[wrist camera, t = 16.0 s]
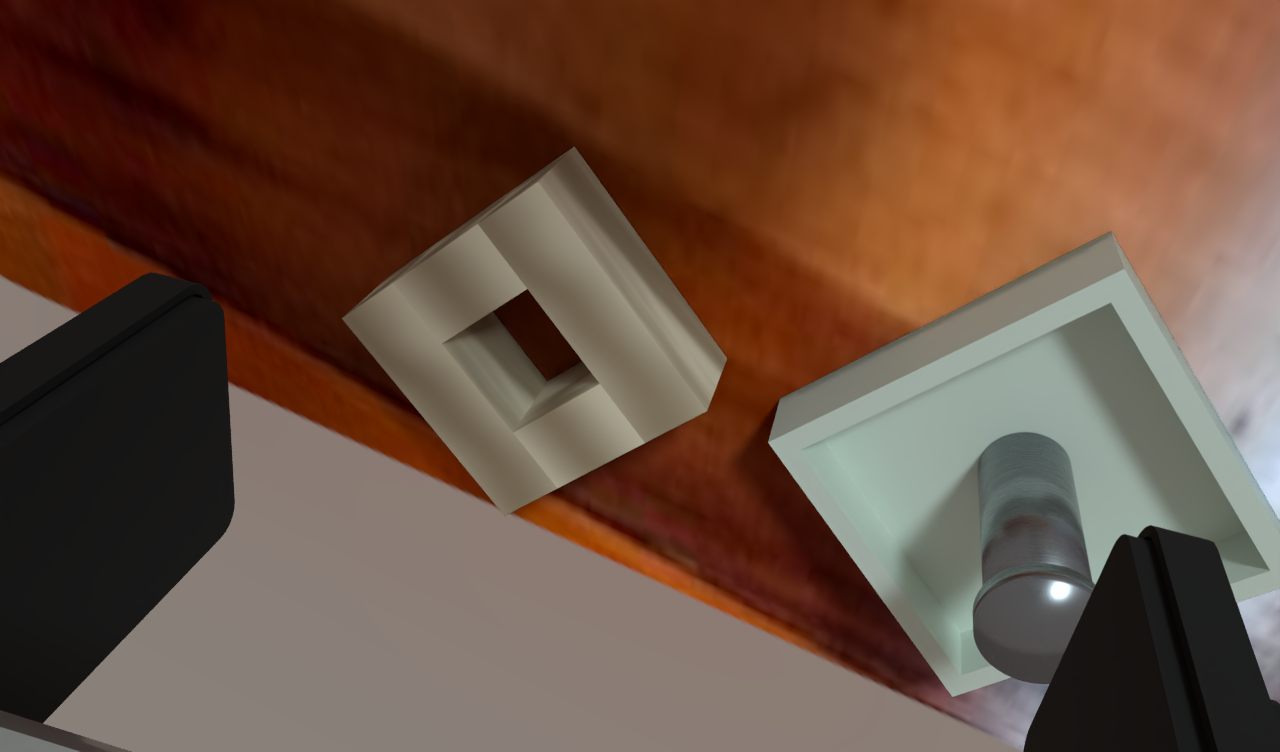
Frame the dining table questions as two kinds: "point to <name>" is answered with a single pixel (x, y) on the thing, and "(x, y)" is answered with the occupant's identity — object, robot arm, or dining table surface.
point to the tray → (1010, 403)
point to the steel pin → (1029, 557)
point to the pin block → (578, 306)
